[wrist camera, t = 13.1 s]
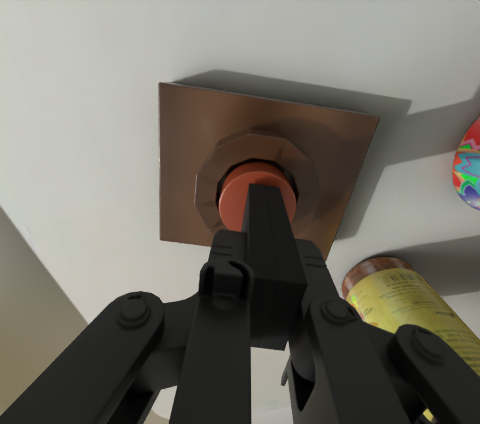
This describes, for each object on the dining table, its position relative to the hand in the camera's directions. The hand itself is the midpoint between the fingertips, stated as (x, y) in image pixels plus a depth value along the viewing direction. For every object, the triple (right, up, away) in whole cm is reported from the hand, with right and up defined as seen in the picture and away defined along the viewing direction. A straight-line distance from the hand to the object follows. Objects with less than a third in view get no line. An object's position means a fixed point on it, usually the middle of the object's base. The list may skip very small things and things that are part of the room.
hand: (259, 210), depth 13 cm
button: (0, +1, +2) cm, 2 cm away
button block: (0, +3, +5) cm, 6 cm away
